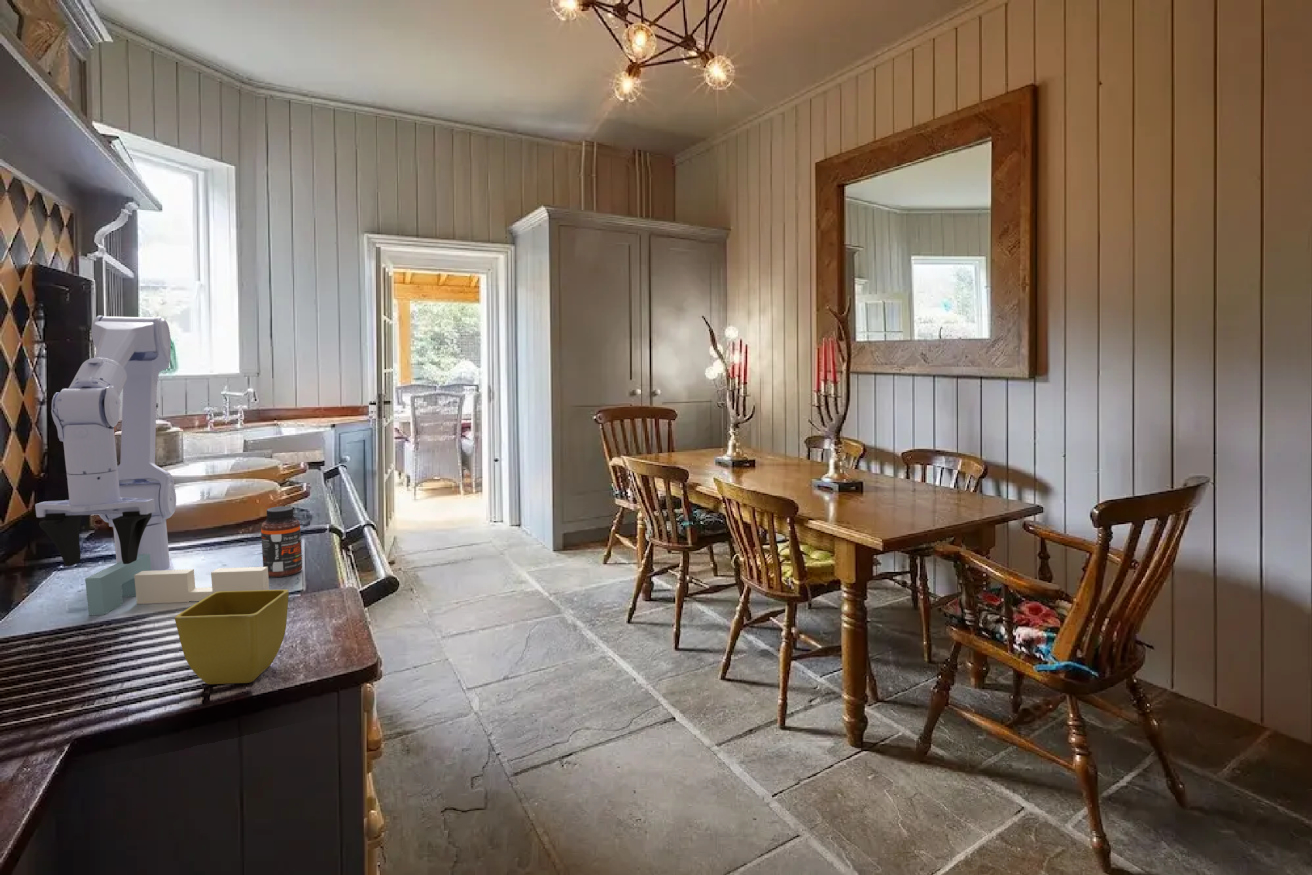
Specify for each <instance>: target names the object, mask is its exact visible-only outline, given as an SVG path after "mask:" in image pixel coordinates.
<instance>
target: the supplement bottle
mask: <svg viewBox="0 0 1312 875" xmlns="http://www.w3.org/2000/svg"><path fill="white" fill-rule="evenodd" d="M301 531H302V530H301V522H300V521H299V519H298V518H296V517H295V516H294V507H292V506H287V505H285V506H274V507H269V508H267V509H266V519H265V521H263V522H262V524H261V526H260V532H261V533H260V536H261V552H262V567H268V577H270V578H271V577H272V578H280V577H289V576H292V575H296V574H297V573H300V571H302V569H303V554H302V553H303V551H302V537H301V535H302V533H301Z"/></svg>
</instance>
